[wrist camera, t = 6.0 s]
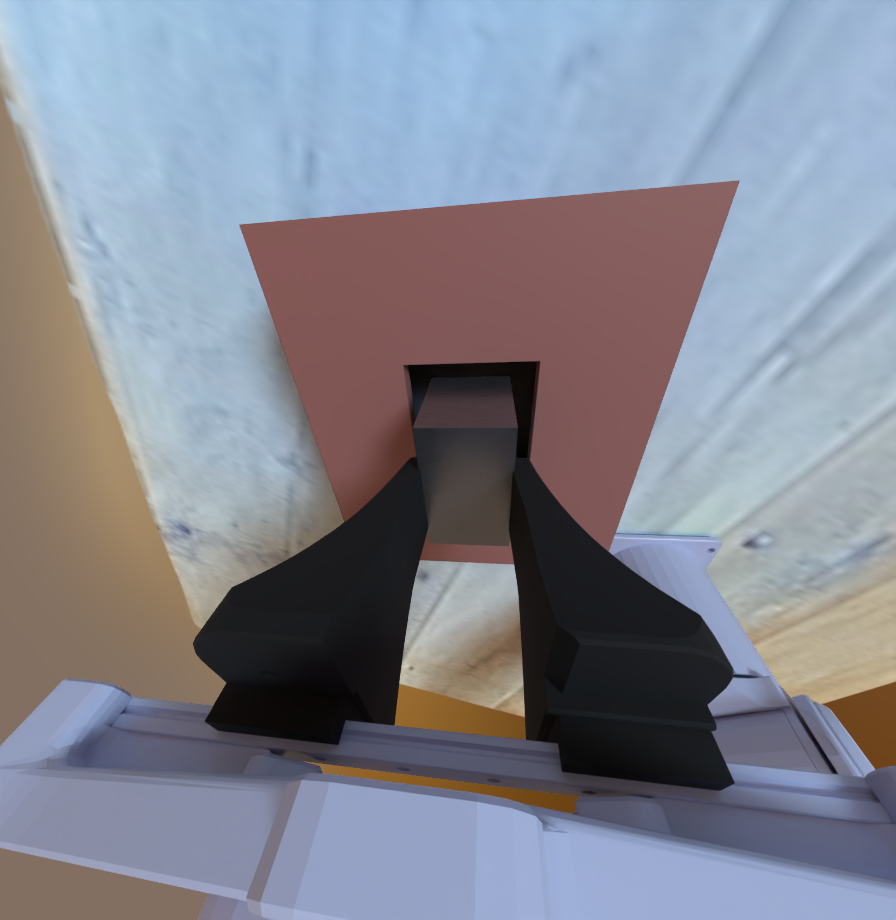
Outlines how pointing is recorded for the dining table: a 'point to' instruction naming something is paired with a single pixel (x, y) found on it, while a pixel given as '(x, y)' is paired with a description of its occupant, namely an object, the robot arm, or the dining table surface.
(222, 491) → the dining table surface
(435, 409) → the grey rectangular block
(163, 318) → the dining table surface
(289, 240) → the box
